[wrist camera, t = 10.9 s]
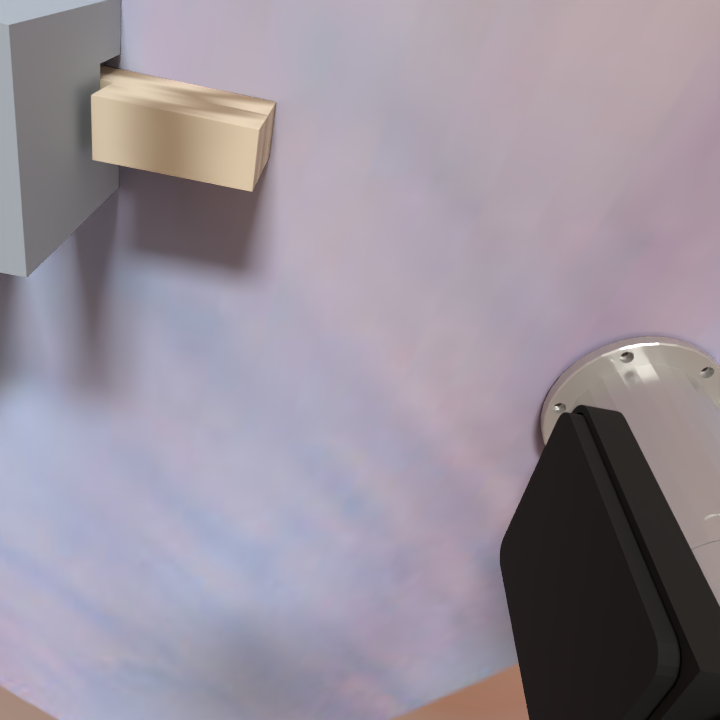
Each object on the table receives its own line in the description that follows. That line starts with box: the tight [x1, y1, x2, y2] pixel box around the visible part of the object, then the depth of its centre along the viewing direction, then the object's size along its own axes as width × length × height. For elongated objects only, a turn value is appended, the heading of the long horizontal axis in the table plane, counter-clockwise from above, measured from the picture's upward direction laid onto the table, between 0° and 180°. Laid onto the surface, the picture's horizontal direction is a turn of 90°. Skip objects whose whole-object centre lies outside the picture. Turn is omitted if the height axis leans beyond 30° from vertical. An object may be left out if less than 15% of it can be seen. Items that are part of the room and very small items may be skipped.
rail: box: [91, 65, 276, 192], centre depth 33 cm, size 20×3×6 cm, turn 79°
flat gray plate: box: [0, 0, 121, 278], centre depth 31 cm, size 10×3×12 cm, turn 168°
